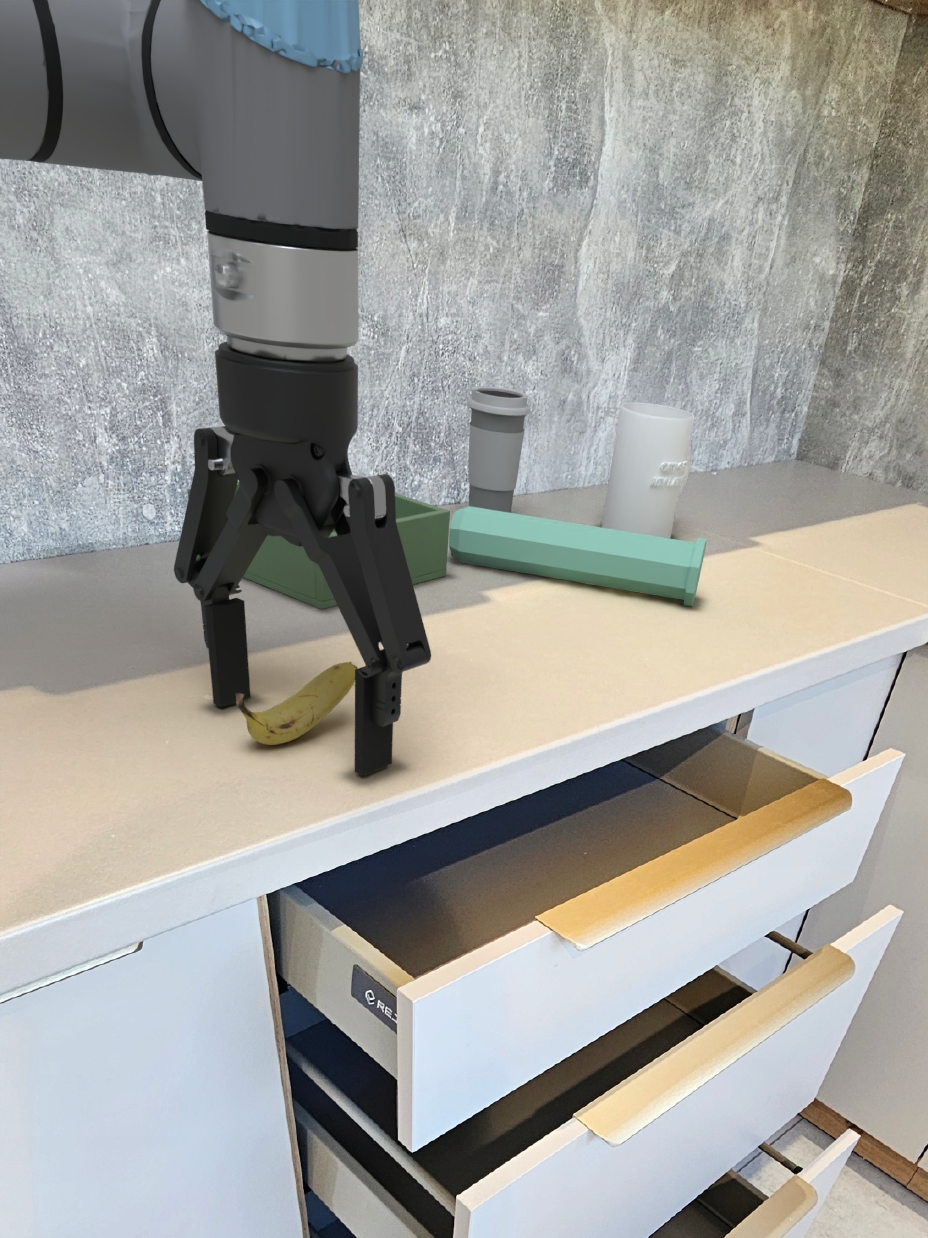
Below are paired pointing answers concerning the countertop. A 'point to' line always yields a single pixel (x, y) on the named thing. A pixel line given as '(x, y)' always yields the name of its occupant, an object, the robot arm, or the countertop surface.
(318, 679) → the banana
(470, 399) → the cup
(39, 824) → the countertop surface
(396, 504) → the bin
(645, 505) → the mug
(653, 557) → the container
